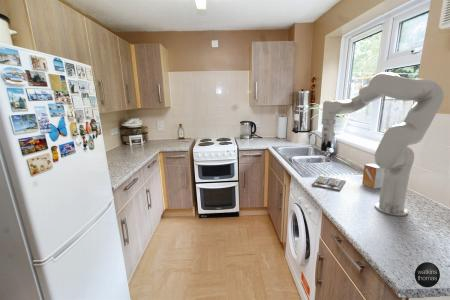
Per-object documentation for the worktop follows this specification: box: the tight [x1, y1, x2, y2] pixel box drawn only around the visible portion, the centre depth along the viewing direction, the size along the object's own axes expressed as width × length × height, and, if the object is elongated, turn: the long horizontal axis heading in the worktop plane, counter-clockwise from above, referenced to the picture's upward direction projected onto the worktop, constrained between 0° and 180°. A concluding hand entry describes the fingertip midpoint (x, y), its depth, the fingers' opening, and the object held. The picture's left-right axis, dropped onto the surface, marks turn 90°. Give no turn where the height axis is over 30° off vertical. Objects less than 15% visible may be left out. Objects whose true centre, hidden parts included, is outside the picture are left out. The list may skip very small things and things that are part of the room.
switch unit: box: [311, 176, 346, 192], centre depth 137 cm, size 18×16×2 cm
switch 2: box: [330, 176, 338, 187], centre depth 131 cm, size 3×3×5 cm
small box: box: [362, 163, 384, 190], centre depth 131 cm, size 8×6×13 cm
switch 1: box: [318, 174, 325, 184], centre depth 136 cm, size 3×3×5 cm
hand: (325, 149), depth 133 cm, fingers open, 9 cm apart
